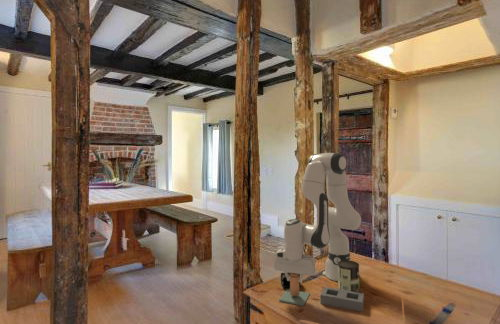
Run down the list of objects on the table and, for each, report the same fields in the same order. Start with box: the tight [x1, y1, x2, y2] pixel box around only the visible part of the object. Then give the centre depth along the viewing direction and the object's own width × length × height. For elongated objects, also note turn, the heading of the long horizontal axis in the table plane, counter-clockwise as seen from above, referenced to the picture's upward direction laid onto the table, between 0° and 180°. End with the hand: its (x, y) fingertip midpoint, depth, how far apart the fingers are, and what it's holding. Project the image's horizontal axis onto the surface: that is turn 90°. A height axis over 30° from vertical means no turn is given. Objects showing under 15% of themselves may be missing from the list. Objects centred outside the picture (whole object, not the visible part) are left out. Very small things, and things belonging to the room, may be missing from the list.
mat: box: [278, 289, 311, 307], centre depth 141 cm, size 12×12×1 cm
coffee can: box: [337, 260, 360, 293], centre depth 146 cm, size 10×10×14 cm
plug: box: [290, 273, 300, 296], centre depth 140 cm, size 4×4×10 cm
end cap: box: [280, 272, 302, 290], centre depth 154 cm, size 10×7×7 cm
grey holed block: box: [319, 286, 365, 313], centre depth 133 cm, size 9×18×5 cm, turn 64°
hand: (294, 281), depth 141 cm, fingers closed on plug, 4 cm apart
